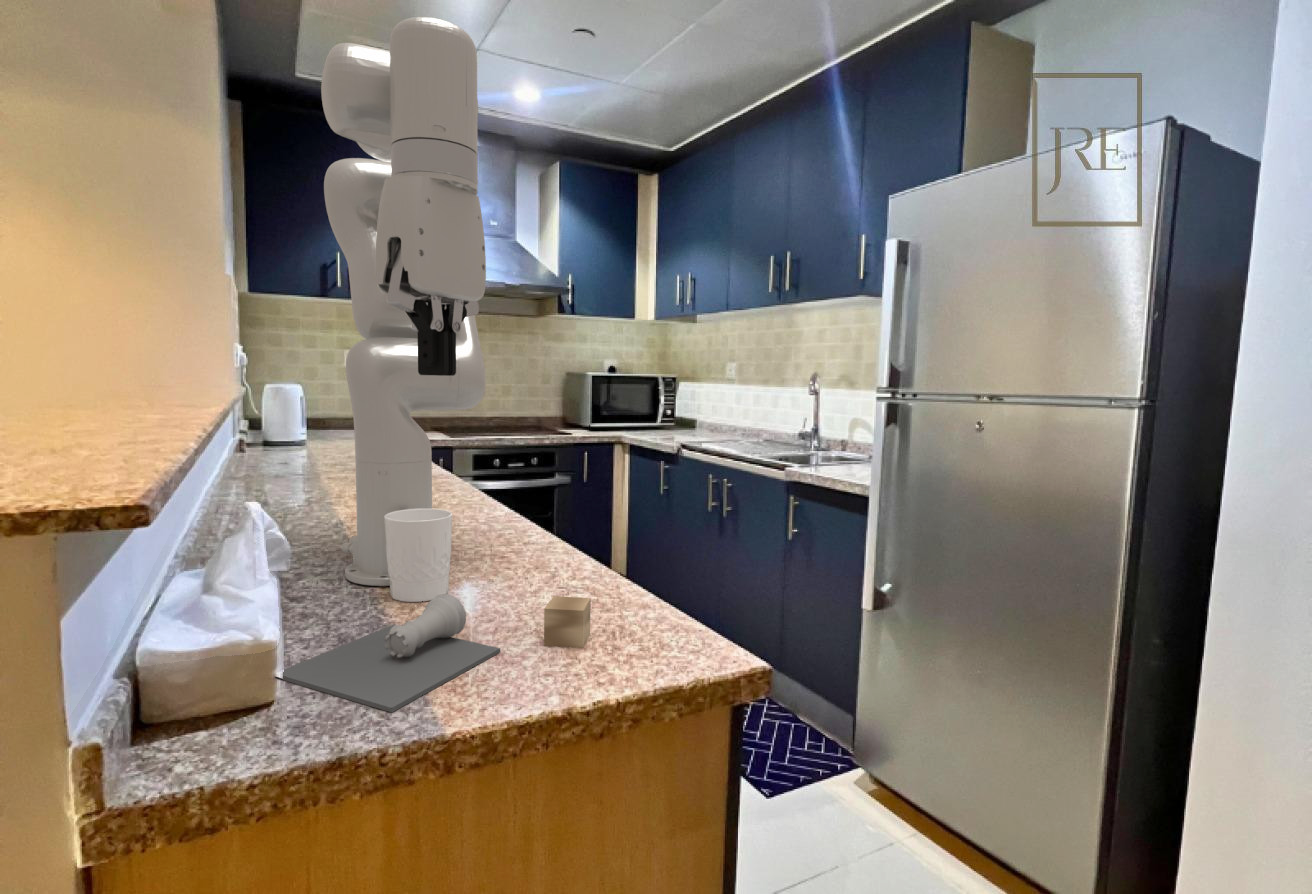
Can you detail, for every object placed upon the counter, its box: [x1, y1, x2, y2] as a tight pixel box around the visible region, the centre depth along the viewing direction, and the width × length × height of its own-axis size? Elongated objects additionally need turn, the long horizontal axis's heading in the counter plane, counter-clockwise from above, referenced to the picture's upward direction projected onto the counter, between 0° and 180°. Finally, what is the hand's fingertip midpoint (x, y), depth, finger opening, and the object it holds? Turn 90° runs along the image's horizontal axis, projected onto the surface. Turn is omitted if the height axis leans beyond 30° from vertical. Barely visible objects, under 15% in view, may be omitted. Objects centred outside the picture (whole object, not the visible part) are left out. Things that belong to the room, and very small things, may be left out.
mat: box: [282, 623, 501, 713], centre depth 65 cm, size 14×14×1 cm
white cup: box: [384, 508, 453, 603], centre depth 86 cm, size 8×8×10 cm
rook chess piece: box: [385, 594, 467, 658], centre depth 69 cm, size 4×4×8 cm
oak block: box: [543, 595, 592, 649], centre depth 72 cm, size 4×4×4 cm
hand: (437, 374), depth 66 cm, fingers closed
